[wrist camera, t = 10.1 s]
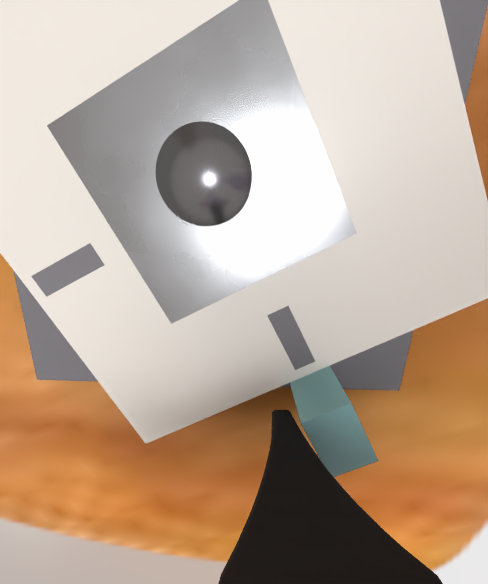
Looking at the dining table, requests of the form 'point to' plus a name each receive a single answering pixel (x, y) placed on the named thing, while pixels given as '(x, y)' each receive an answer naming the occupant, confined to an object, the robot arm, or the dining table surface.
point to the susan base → (350, 372)
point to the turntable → (285, 283)
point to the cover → (209, 162)
